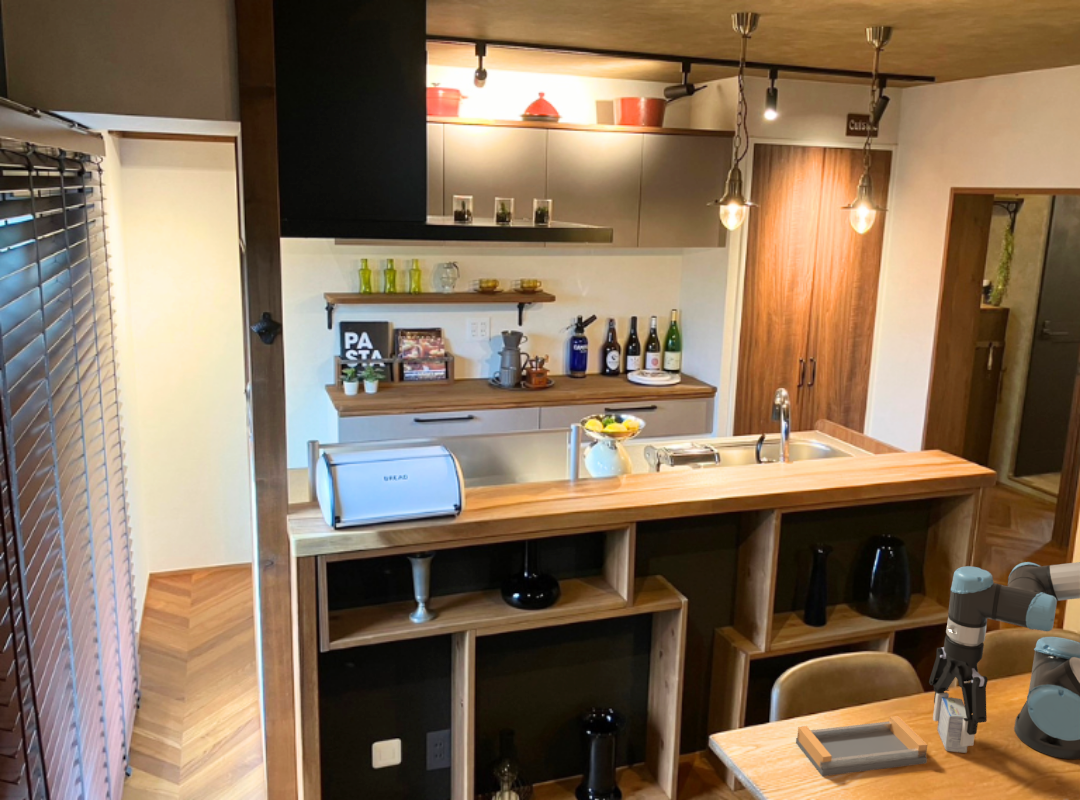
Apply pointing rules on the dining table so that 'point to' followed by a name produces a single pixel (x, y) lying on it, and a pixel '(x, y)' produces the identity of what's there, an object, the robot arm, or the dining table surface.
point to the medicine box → (951, 723)
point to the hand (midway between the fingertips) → (952, 731)
